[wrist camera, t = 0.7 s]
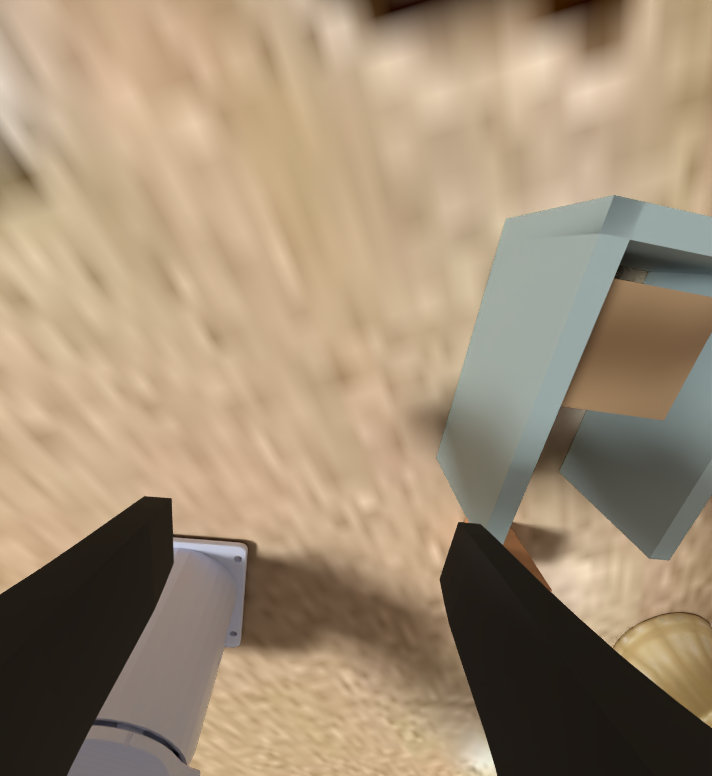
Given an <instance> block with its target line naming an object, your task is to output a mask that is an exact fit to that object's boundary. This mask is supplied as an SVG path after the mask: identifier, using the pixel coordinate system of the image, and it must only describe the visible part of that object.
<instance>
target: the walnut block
mask: <svg viewBox="0 0 712 776" xmlns="http://www.w3.org/2000/svg"><path fill="white" fill-rule="evenodd" d="M711 333H712V297H709V296H703V295H698V294H693V293H688V292H682V291H677V290H672V289H667V288H661V287H656V286H651V285H646V284H641V283H635V282H630V281H625V280H620V279H613V281H612V284H611V286H610V288H609V291H608V293H607V296H606V298H605V301H604V303H603V305H602V308H601V310H600V313H599V315H598V317H597V320H596V322H595V325H594V327H593V329H592V332H591V334H590V337H589V339H588V341H587V344H586V346H585V349H584V351H583V353H582V356H581V358H580V361H579V363H578V365H577V368H576V370H575V373H574V375H573V377H572V380H571V382H570V385H569V387H568V390H567V392H566V394H565V397H564V399H563V402H562V404H561V406H563V407H570V408H577V409H585V410H592V411H599V412H606V413H613V414H620V415H628V416H635V417H642V418H649V419H656V420H663V421H664V419H665V418H666V416H667V414H668V412H669V410H670V408H671V406H672V405H673V403H674V401H675V399H676V397H677V395H678V394H679V392H680V390H681V388H682V386H683V384H684V382H685V381H686V379H687V377H688V375H689V373H690V371H691V369H692V368H693V366H694V364H695V362H696V360H697V358H698V357H699V355H700V353H701V351H702V349H703V347H704V345H705V344H706V342H707V340H708V338H709V336H710V334H711ZM464 523H469V522H468V520H467V518H466V519H465V522H464ZM503 546H504V547H505V548H506V549H507V550H508V551H509V552H510V553H511V554H512V555H514V556H515V557H516V558H517V559H518V560H519V561H520V562H521V563H522V564H523V565H524V566H525V567H526V568H527V569H528V570H529V571H530V572H531V573H532V574H533V575H534V576H535V577H536V578H537V579H538V580H539V581H540V582H541V583H542V584H543V585H544V586H545V587H546V588H547V589H548V590H549V591H550V592H551V591H552V590H551V588H550V587H549V585H548V584H547V582H546V581H545V579H544V577H543V576H542V574H541V573H540V571H539V570H538V568H537V567H536V565H535V564H534V562H533V561H532V559H531V558H530V556H529V555H528V553H527V551H526V550H525V548H524V547H523V545H522V544H521V542H520V541H519V539H518V538H517V536H516V535H515V533H514V532H513V530H512V528H511V527H510V529H509V531H508V534H507V536H506V539H505V541H504V543H503Z"/></svg>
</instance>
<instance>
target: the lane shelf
mask: <svg viewBox="0 0 712 776" xmlns="http://www.w3.org/2000/svg"><path fill="white" fill-rule="evenodd" d="M619 266H624V267H629V268H634V269H639V270H644V271H649V272H648V275H647V277H646V279H645V281H644V283H643V284H646V285H651V286H656V287H661V288H667V289H672V290H677V291H682V292H688V293H693V294H698V295H703V296H709V297H712V217H710V216H705V215H701V214H696V213H692V212H687V211H683V210H678V209H674V208H669V207H665V206H660V205H656V204H651V203H647V202H642V201H638V200H633V199H629V198H624V197H620V196H616V195H613V196H608V197H604V198H599V199H595V200H590V201H586V202H581V203H576V204H572V205H567V206H563V207H558V208H554V209H549V210H544V211H540V212H535V213H531V214H526V215H522V216H517V217H512V218H508V219H506V221H505V224H504V228H503V231H502V235H501V238H500V241H499V245H498V248H497V252H496V255H495V259H494V262H493V265H492V269H491V272H490V276H489V279H488V283H487V286H486V289H485V293H484V296H483V300H482V303H481V307H480V310H479V313H478V317H477V320H476V324H475V327H474V330H473V334H472V337H471V341H470V344H469V348H468V351H467V354H466V358H465V361H464V365H463V368H462V372H461V375H460V378H459V382H458V385H457V389H456V392H455V396H454V399H453V402H452V406H451V409H450V413H449V416H448V420H447V423H446V426H445V430H444V433H443V437H442V440H441V444H440V447H439V450H438V454H437V457H436V459H437V461H438V462H439V464H440V466H441V468H442V470H443V472H444V474H445V476H446V478H447V480H448V482H449V484H450V486H451V488H452V490H453V492H454V494H455V496H456V498H457V500H458V502H459V504H460V506H461V508H462V510H463V512H464V514H465V516H466V518H467V520H468V522H469V523H477V524H481V525H482V526H483V527H485V528H486V529H487V530H488V531H489V532H490V533H491V534H492V535H493V536H494V537H495V538H496V539H497V540H498V541H499V542H500V543H501V544H502V545H503V543H504V541H505V539H506V536H507V534H508V531H509V529H510V527H511V524H512V522H513V519H514V517H515V515H516V512H517V510H518V507H519V505H520V503H521V500H522V498H523V495H524V493H525V491H526V488H527V486H528V483H529V481H530V479H531V476H532V474H533V471H534V469H535V466H536V464H537V462H538V459H539V457H540V454H541V452H542V450H543V447H544V445H545V442H546V440H547V438H548V435H549V433H550V430H551V428H552V426H553V423H554V421H555V418H556V416H557V414H558V411H559V409H560V406H561V404H562V402H563V399H564V397H565V394H566V392H567V390H568V387H569V385H570V382H571V380H572V377H573V375H574V373H575V370H576V368H577V365H578V363H579V361H580V358H581V356H582V353H583V351H584V349H585V346H586V344H587V341H588V339H589V337H590V334H591V332H592V329H593V327H594V325H595V322H596V320H597V317H598V315H599V313H600V310H601V308H602V305H603V303H604V301H605V298H606V296H607V293H608V291H609V288H610V286H611V284H612V281H613V279H614V276H615V274H616V272H617V269H618V267H619ZM559 473H560V474H562V475H563V476H564V477H565V478H566V479H567V480H568V481H569V482H570V483H571V484H572V485H573V486H574V487H575V488H576V489H577V490H578V491H579V492H580V493H581V494H582V495H583V496H585V497H586V498H587V499H588V500H589V501H590V502H591V503H592V504H593V505H594V506H595V507H596V508H597V509H598V510H599V511H600V512H601V513H602V514H603V515H604V516H605V517H606V518H607V519H609V520H610V521H611V522H612V523H613V524H614V525H615V526H616V527H617V528H618V529H619V530H620V531H621V532H622V533H623V534H624V535H625V536H626V537H627V538H628V539H629V540H630V541H631V542H633V543H634V544H635V545H636V546H637V547H638V548H639V549H640V550H641V551H642V552H643V553H644V554H645V555H646V556H647V557H648V558H649V559H659V560H670V558H671V557H672V555H673V554H674V552H675V551H676V549H677V548H678V546H679V545H680V543H681V541H682V540H683V538H684V537H685V535H686V534H687V532H688V531H689V529H690V528H691V526H692V525H693V523H694V522H695V520H696V518H697V517H698V515H699V514H700V512H701V511H702V509H703V508H704V506H705V505H706V503H707V502H708V500H709V499H710V497H711V496H712V333H711V334H710V336H709V338H708V340H707V342H706V344H705V345H704V347H703V349H702V351H701V353H700V355H699V357H698V358H697V360H696V362H695V364H694V366H693V368H692V369H691V371H690V373H689V375H688V377H687V379H686V381H685V382H684V384H683V386H682V388H681V390H680V392H679V394H678V395H677V397H676V399H675V401H674V403H673V405H672V406H671V408H670V410H669V412H668V414H667V416H666V418H665V419H664V421H663V420H656V419H649V418H642V417H635V416H628V415H620V414H613V413H606V412H599V411H592V410H587V411H586V413H585V415H584V418H583V420H582V422H581V424H580V427H579V429H578V431H577V433H576V435H575V438H574V440H573V442H572V444H571V447H570V449H569V451H568V453H567V456H566V458H565V460H564V462H563V464H562V467H561V469H560V471H559Z"/></svg>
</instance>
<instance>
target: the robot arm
mask: <svg viewBox="0 0 712 776" xmlns="http://www.w3.org/2000/svg"><path fill="white" fill-rule="evenodd" d="M247 554H248V548H247V546H246V545H245V544H243V543H239V542H226V541H213V540H201V539H188V538H175V537H173V524H172V499H171V498H160V497H147V496H144V497H143V498H141V499H140V500H138V501H137V502H136V503H134V504H133V505H131V506H130V507H128V508H127V509H126V510H124V511H123V512H121V513H120V514H118V515H117V516H116V517H114V518H113V519H111V520H110V521H108V522H107V523H106V524H104V525H103V526H101V527H100V528H99V529H97V530H96V531H94V532H93V533H91V534H90V535H89V536H87V537H86V538H84V539H83V540H81V541H80V542H79V543H77V544H76V545H74V546H73V547H71V548H70V549H68V550H67V551H65V552H64V553H63V554H61V555H60V556H58V557H57V558H55V559H54V560H52V561H51V562H49V563H48V564H46V565H45V566H44V567H42V568H41V569H39V570H37V571H36V572H34V573H33V574H31V575H30V576H28V577H27V578H25V579H23V580H22V581H20V582H19V583H17V584H16V585H14V586H13V587H11V588H9V589H8V590H6V591H5V592H3V593H2V594H0V776H200V771H199V770H197V769H194V768H191V767H189V764H190V762H191V760H192V757H193V755H194V753H195V750H196V747H197V744H198V740H199V737H200V733H201V729H202V726H203V722H204V719H205V715H206V712H207V708H208V704H209V701H210V697H211V694H212V690H213V687H214V683H215V679H216V676H217V672H218V669H219V665H220V662H221V658H222V654H223V651H224V647H237V646H239V645H240V642H241V636H242V622H243V609H244V595H245V581H246V568H247ZM237 556H240V557H237ZM440 584H441V589H442V594H443V599H444V604H445V608H446V612H447V617H448V621H449V625H450V628H451V631H452V634H453V637H454V641H455V644H456V647H457V650H458V653H459V656H460V659H461V662H462V665H463V668H464V671H465V674H466V677H467V680H468V683H469V686H470V689H471V692H472V695H473V698H474V701H475V704H476V707H477V710H478V713H479V716H480V719H481V722H482V725H483V728H484V731H485V734H486V738H487V741H488V744H489V748H490V751H491V754H492V758H493V761H494V764H495V768H496V772H497V776H712V728H711V727H710V726H709V725H707V724H706V723H705V722H703V721H702V720H701V719H699V718H698V717H697V716H696V715H694V714H693V713H692V712H690V711H689V710H688V709H686V708H685V707H684V706H683V705H681V704H680V703H679V702H677V701H676V700H675V699H674V698H672V697H671V696H670V695H669V694H668V693H666V692H665V691H664V690H663V689H661V688H660V687H659V686H658V685H656V684H655V683H654V682H653V681H651V680H650V679H649V678H648V677H647V676H645V675H644V674H643V673H642V672H640V671H639V670H638V669H637V668H635V667H634V666H633V665H632V664H631V663H629V662H628V661H627V660H626V659H625V658H624V657H622V656H621V655H620V654H619V653H618V652H616V651H615V650H614V649H613V648H612V647H611V646H610V645H608V644H607V643H606V642H605V641H604V640H603V639H602V638H601V637H599V636H598V635H597V634H596V633H595V632H594V631H593V630H592V629H590V628H589V627H588V626H587V625H586V624H585V623H584V622H583V621H581V620H580V619H579V618H578V617H577V616H576V615H575V614H574V613H573V612H572V611H571V610H570V609H568V608H567V607H566V606H565V605H564V604H563V603H562V602H561V601H560V600H559V599H558V598H557V597H556V596H555V595H554V594H552V593H551V592H550V591H549V590H548V589H547V588H546V587H545V586H544V585H543V584H542V583H541V582H540V581H539V580H538V579H537V578H536V577H535V576H534V575H533V574H532V573H531V572H530V571H529V570H528V569H527V568H526V567H525V566H524V565H523V564H522V563H521V562H520V561H519V560H518V559H517V558H516V557H515V556H514V555H512V554H511V553H510V552H509V551H508V550H507V549H506V548H505V547H504V546H503V545H502V544H501V543H500V542H499V541H498V540H497V539H496V538H495V537H494V536H493V535H492V534H491V533H490V532H489V531H488V530H487V529H486V528H485V527H483V526H482V525H481V524H477V523H464V522H458V525H457V528H456V531H455V534H454V537H453V540H452V543H451V546H450V549H449V552H448V555H447V558H446V561H445V564H444V568H443V571H442V574H441V577H440Z"/></svg>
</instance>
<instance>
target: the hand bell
mask: <svg viewBox="0 0 712 776" xmlns="http://www.w3.org/2000/svg"><path fill="white" fill-rule="evenodd" d="M613 649H614V650H615V651H616V652H618V653H619V654H620V655H621V656H622V657H624V658H625V659H626V660H627V661H628V662H629V663H631V664H632V665H633V666H634V667H635V668H637V669H638V670H639V671H640V672H642V673H643V674H644V675H645V676H647V677H648V678H649V679H650V680H651V681H653V682H654V683H655V684H656V685H658V686H659V687H660V688H661V689H663V690H664V691H665V692H666V693H668V694H669V695H670V696H671V697H672V698H674V699H675V700H676V701H677V702H679V703H680V704H681V705H683V706H684V707H685V708H686V709H688V710H689V711H690V712H692V713H693V714H694V715H696V716H697V717H698V718H699V719H701V720H702V721H703V722H705V723H706V724H707V725H709V726H710V727H711V728H712V629H711V627H710V625H709V624H708V623H707V622H706V621H705V620H704V619H702V618H701V617H699V616H697V615H693V614H687V613H670V614H664V615H660V616H657V617H654V618H651V619H649V620H647V621H644V622H642V623H639V624H638V625H636V626H634V627H632V628H631V629H629V630H628V631H627V632H626V633H625V634H623V635H622V636H621V638H620V639H619V640H618V641H617V643H616V644H615V646H614V647H613Z"/></svg>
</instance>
